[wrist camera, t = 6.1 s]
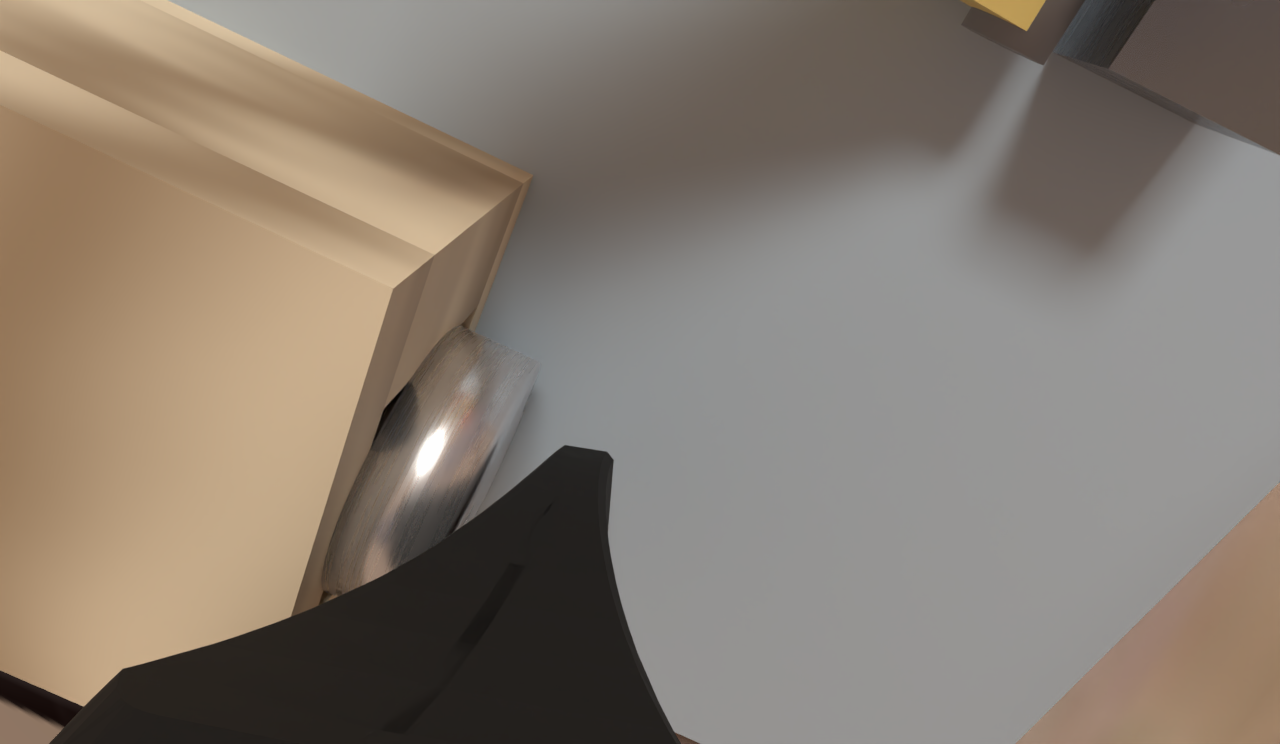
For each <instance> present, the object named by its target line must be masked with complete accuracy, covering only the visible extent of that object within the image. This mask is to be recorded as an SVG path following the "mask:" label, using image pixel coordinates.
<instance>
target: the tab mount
mask: <svg viewBox="0 0 1280 744" xmlns="http://www.w3.org/2000/svg"><path fill="white" fill-rule="evenodd" d="M1052 52H1053V53H1055V54H1057V55H1059V56H1061V57H1063V58H1065V59H1067V60H1069V61H1071V62H1073V63H1075V64H1077V65H1079V66H1081V67H1083V68H1085V69H1087V70H1089V71H1091V72H1093V73H1095V74H1097V75H1099V76H1101V77H1103V78H1105V79H1107V80H1109V81H1111V82H1113V83H1115V84H1117V85H1119V86H1121V87H1123V88H1125V89H1127V90H1129V91H1131V92H1133V93H1135V94H1137V95H1139V96H1141V97H1143V98H1145V99H1147V100H1149V101H1151V102H1153V103H1155V104H1157V105H1159V106H1161V107H1163V108H1165V109H1167V110H1169V111H1171V112H1173V113H1175V114H1176V115H1178V116H1180V117H1182V118H1184V119H1186V120H1188V121H1190V122H1192V123H1194V124H1197V125H1199V126H1202V127H1205V128H1207V129H1210V130H1213V131H1215V132H1218V133H1221V134H1223V135H1226V136H1229V137H1231V138H1234V139H1237V140H1240V141H1242V142H1245V143H1248V144H1250V145H1253V146H1256V147H1258V148H1261V149H1264V150H1266V151H1269V152H1272V153H1274V154H1277V155H1280V0H1085V1H1084V3H1083V5H1082V6H1081V8H1080V9H1079V11H1078V12H1077V14H1076V16H1075V17H1074V19H1073V20H1072V22H1071V23H1070V25H1069V26H1068V28H1067V30H1066V31H1065V33H1064V34H1063V36H1062V37H1061V39H1060V41H1059V42H1058V44H1057V45H1056V47H1055V48H1054V50H1053V51H1052Z"/></svg>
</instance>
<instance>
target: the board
mask: <svg viewBox="0 0 1280 744" xmlns="http://www.w3.org/2000/svg"><path fill="white" fill-rule="evenodd" d="M168 1H170V2H172V3H175V4H177V5H179V6H181V7H183V8H185V9H187V10H189V11H191V12H193V13H195V14H197V15H200V16H202V17H204V18H206V19H208V20H210V21H212V22H214V23H216V24H218V25H220V26H223V27H225V28H227V29H229V30H231V31H233V32H235V33H237V34H239V35H241V36H243V37H246V38H248V39H250V40H252V41H254V42H256V43H258V44H260V45H262V46H264V47H266V48H269V49H271V50H273V51H275V52H277V53H279V54H281V55H283V56H285V57H287V58H289V59H292V60H294V61H296V62H298V63H300V64H302V65H304V66H306V67H308V68H310V69H312V70H315V71H317V72H319V73H321V74H323V75H325V76H327V77H329V78H331V79H333V80H335V81H338V82H340V83H342V84H344V85H346V86H348V87H350V88H352V89H354V90H356V91H358V92H360V93H363V94H365V95H367V96H369V97H371V98H373V99H375V100H377V101H379V102H381V103H383V104H386V105H388V106H390V107H392V108H394V109H396V110H398V111H400V112H402V113H404V114H406V115H409V116H411V117H413V118H415V119H417V120H419V121H421V122H423V123H425V124H427V125H429V126H432V127H434V128H436V129H438V130H440V131H442V132H444V133H446V134H448V135H450V136H452V137H455V138H457V139H459V140H461V141H463V142H465V143H467V144H469V145H471V146H473V147H475V148H478V149H480V150H482V151H484V152H486V153H488V154H490V155H492V156H494V157H496V158H498V159H501V160H503V161H505V162H507V163H509V164H511V165H513V166H515V167H517V168H519V169H521V170H523V171H526V172H528V173H530V174H532V175H533V178H532V180H531V183H530V186H529V188H528V191H527V194H526V196H525V199H524V202H523V204H522V207H521V210H520V212H519V215H518V218H517V220H516V223H515V226H514V228H513V231H512V234H511V236H510V239H509V242H508V244H507V247H506V250H505V252H504V255H503V258H502V260H501V263H500V266H499V268H498V271H497V274H496V276H495V279H494V282H493V284H492V287H491V290H490V292H489V295H488V298H487V300H486V303H485V306H484V308H483V311H482V314H481V316H480V319H479V322H478V324H477V327H476V330H475V332H476V333H478V334H481V335H483V336H485V337H487V338H489V339H491V340H493V341H496V342H498V343H500V344H502V345H504V346H506V347H508V348H511V349H513V350H515V351H517V352H519V353H521V354H523V355H526V356H528V357H530V358H532V359H534V360H536V361H538V362H540V370H539V373H538V377H537V380H536V382H535V385H534V388H533V391H532V393H531V396H530V398H529V401H528V403H527V406H526V408H525V411H524V413H523V415H522V418H521V420H520V422H519V425H518V427H517V429H516V432H515V434H514V436H513V438H512V441H511V443H510V445H509V447H508V449H507V452H506V454H505V456H504V458H503V460H502V463H501V465H500V467H499V469H498V471H497V473H496V475H495V478H494V480H493V482H492V484H491V486H490V488H489V490H488V492H487V494H486V496H485V498H484V500H483V502H482V505H481V507H480V509H479V511H478V513H477V515H476V516H478V515H479V514H480V513H482V512H483V511H484V510H485V509H487V508H488V507H489V506H491V505H492V504H493V503H494V502H496V501H497V500H498V499H499V498H501V497H502V496H503V495H505V494H506V493H507V492H508V491H510V490H511V489H512V488H513V487H515V486H516V485H517V484H518V483H519V482H521V481H522V480H523V479H524V478H525V477H527V476H528V475H529V474H530V473H531V472H532V471H534V470H535V469H536V468H537V467H538V466H539V465H541V464H542V463H543V462H544V461H545V460H546V459H547V458H549V457H550V456H551V455H552V454H553V453H555V452H556V451H557V450H558V449H560V448H561V447H563V446H564V445H568V446H575V447H581V448H587V449H594V450H600V451H606V452H608V453H609V455H610V456H611V457H612V458H613V460H614V463H613V475H612V488H611V500H610V512H609V524H608V539H609V547H610V553H611V559H612V564H613V569H614V574H615V579H616V584H617V588H618V592H619V596H620V600H621V604H622V607H623V610H624V614H625V617H626V620H627V624H628V627H629V630H630V633H631V635H632V638H633V641H634V644H635V647H636V650H637V653H638V655H639V658H640V660H641V662H642V664H643V667H644V669H645V671H646V674H647V676H648V678H649V681H650V683H651V685H652V688H653V690H654V692H655V694H656V697H657V699H658V701H659V704H660V705H661V707H662V709H663V711H664V713H665V715H666V717H667V719H668V721H669V723H670V725H671V727H672V729H673V731H674V732H676V733H678V734H680V735H682V736H685V737H687V738H689V739H691V740H693V741H696V742H698V743H700V744H1015V743H1016V742H1017V741H1018V740H1019V739H1020V738H1021V737H1022V736H1023V735H1025V734H1026V733H1027V732H1028V731H1029V730H1030V729H1031V728H1032V727H1033V726H1034V725H1035V724H1036V723H1037V722H1038V721H1039V720H1040V719H1041V718H1042V717H1043V716H1044V715H1045V714H1046V713H1047V712H1048V711H1049V710H1050V709H1051V708H1052V707H1053V706H1054V705H1055V704H1056V703H1057V702H1058V701H1059V700H1060V699H1061V698H1062V697H1063V696H1064V695H1065V694H1066V693H1067V692H1068V691H1069V690H1070V689H1071V688H1072V687H1073V686H1074V685H1075V684H1076V683H1077V682H1078V681H1079V680H1080V679H1081V678H1082V677H1083V676H1084V675H1085V674H1086V673H1087V672H1088V671H1089V670H1090V669H1091V668H1092V667H1093V666H1094V665H1095V664H1096V663H1097V662H1098V661H1099V660H1100V659H1101V658H1102V657H1103V656H1104V655H1105V654H1106V653H1107V652H1108V651H1109V650H1110V649H1111V648H1112V647H1113V646H1114V645H1115V644H1117V643H1118V642H1119V641H1120V640H1121V639H1122V638H1123V637H1124V636H1125V635H1126V634H1127V633H1128V632H1129V631H1130V630H1131V629H1132V628H1133V627H1134V626H1135V625H1136V624H1137V623H1138V622H1139V621H1140V620H1141V619H1142V618H1143V617H1144V616H1145V615H1146V614H1147V613H1148V612H1149V611H1150V610H1151V609H1152V608H1153V607H1154V606H1155V605H1156V604H1157V603H1158V602H1159V601H1160V600H1161V599H1162V598H1163V597H1164V596H1165V595H1166V594H1167V593H1168V592H1169V591H1170V590H1171V589H1172V588H1173V587H1174V586H1175V585H1176V584H1177V583H1178V582H1179V581H1180V580H1181V579H1182V578H1183V577H1184V576H1185V575H1186V574H1187V573H1188V572H1189V571H1190V570H1191V569H1192V568H1193V567H1194V566H1195V565H1196V564H1197V563H1198V562H1199V561H1200V560H1201V559H1202V558H1203V557H1204V556H1205V555H1206V554H1207V553H1208V552H1210V551H1211V550H1212V549H1213V548H1214V547H1215V546H1216V545H1217V544H1218V543H1219V542H1220V541H1221V540H1222V539H1223V538H1224V537H1225V536H1226V535H1227V534H1228V533H1229V532H1230V531H1231V530H1232V529H1233V528H1234V527H1235V526H1236V525H1237V524H1238V523H1239V522H1240V521H1241V520H1242V519H1243V518H1244V517H1245V516H1246V515H1247V514H1248V513H1249V512H1250V511H1251V510H1252V509H1253V508H1254V507H1255V506H1256V505H1257V504H1258V503H1259V502H1260V501H1261V500H1262V499H1263V498H1264V497H1265V496H1266V495H1267V494H1268V493H1269V492H1270V491H1271V490H1272V489H1273V488H1274V487H1275V486H1276V485H1277V484H1278V483H1279V482H1280V155H1277V154H1274V153H1272V152H1269V151H1266V150H1264V149H1261V148H1258V147H1256V146H1253V145H1250V144H1248V143H1245V142H1242V141H1240V140H1237V139H1234V138H1231V137H1229V136H1226V135H1223V134H1221V133H1218V132H1215V131H1213V130H1210V129H1207V128H1205V127H1202V126H1199V125H1197V124H1194V123H1192V122H1190V121H1188V120H1186V119H1184V118H1182V117H1180V116H1178V115H1176V114H1175V113H1173V112H1171V111H1169V110H1167V109H1165V108H1163V107H1161V106H1159V105H1157V104H1155V103H1153V102H1151V101H1149V100H1147V99H1145V98H1143V97H1141V96H1139V95H1137V94H1135V93H1133V92H1131V91H1129V90H1127V89H1125V88H1123V87H1121V86H1119V85H1117V84H1115V83H1113V82H1111V81H1109V80H1107V79H1105V78H1103V77H1101V76H1099V75H1097V74H1095V73H1093V72H1091V71H1089V70H1087V69H1085V68H1083V67H1081V66H1079V65H1077V64H1075V63H1073V62H1071V61H1069V60H1067V59H1065V58H1063V57H1061V56H1059V55H1057V54H1055V53H1053V52H1052V53H1051V55H1050V56H1049V58H1048V59H1047V61H1046V62H1045V64H1044V65H1041V64H1038V63H1036V62H1034V61H1031V60H1029V59H1027V58H1025V57H1023V56H1021V55H1018V54H1016V53H1014V52H1012V51H1010V50H1008V49H1006V48H1004V47H1002V46H1000V45H998V44H996V43H994V42H992V41H990V40H988V39H986V38H984V37H982V36H980V35H978V34H976V33H974V32H972V31H970V30H969V29H967V28H965V27H963V26H962V25H961V24H962V22H963V21H964V19H965V17H966V15H967V14H968V12H969V10H970V8H971V7H970V6H969V5H967V4H965V3H964V2H962V1H960V0H168Z"/></svg>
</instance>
